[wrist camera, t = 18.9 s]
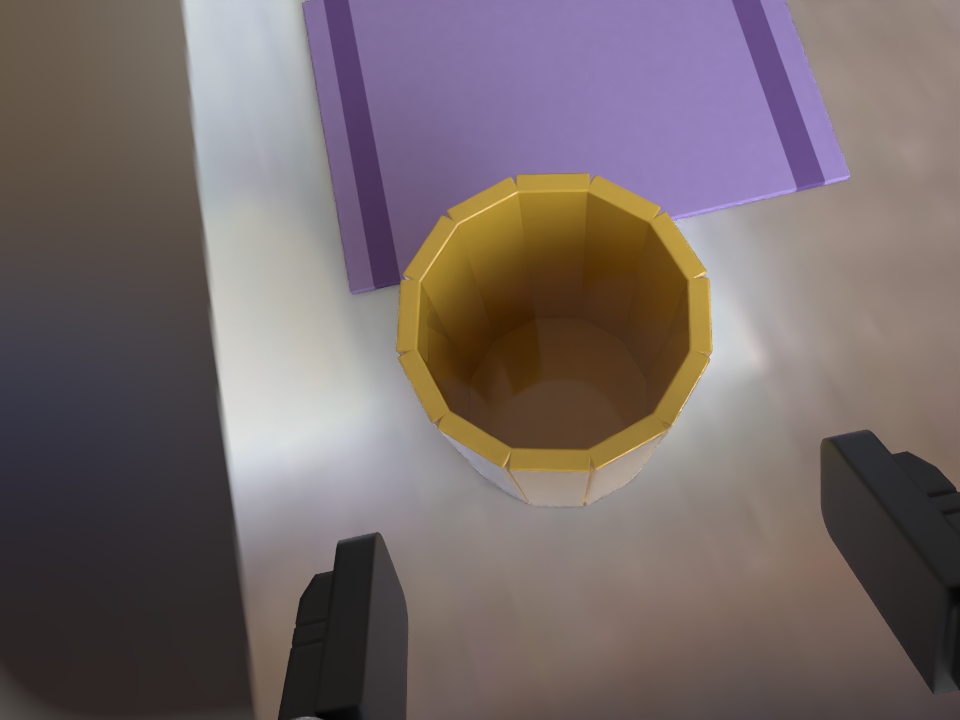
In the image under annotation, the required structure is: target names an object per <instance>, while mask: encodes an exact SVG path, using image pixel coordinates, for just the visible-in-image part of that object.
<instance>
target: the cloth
mask: <svg viewBox="0 0 960 720" xmlns="http://www.w3.org/2000/svg"><path fill="white" fill-rule="evenodd" d="M302 5H303V11H304V17H305V23H306V29H307V35H308V41H309V47H310V53H311V59H312V65H313V71H314V77H315V83H316V89H317V95H318V101H319V107H320V113H321V119H322V125H323V131H324V136H325V142H326V148H327V154H328V160H329V166H330V172H331V178H332V184H333V190H334V196H335V202H336V208H337V214H338V220H339V226H340V232H341V238H342V244H343V250H344V256H345V262H346V268H347V274H348V280H349V286H350V291H351V293H352V294H357V293H361V292H366V291H370V290H374V289H379V288H383V287H387V286H391V285H396V284H400V282H401V280H403V279H405V277H404V275H403V273H404V271H405V270H406V268H407V267H408V265H409V263H410V262H411V260H412V259H413V257H414V256H415V254H416V253H417V251H418V250H419V248H420V247H421V245H422V244H423V242H424V241H425V239H426V238H427V236H428V235H429V233H430V232H431V230H432V229H433V227H434V226H435V224H436V223H437V221H438V220H439V218H440V217H441V216H442V215H445V216H446V217H448V214H447V210H448V209H450V208H452V207H454V206H455V205H457V204H459V203H461V202H463V201H465V200H467V199H468V198H470V197H472V196H474V195H476V194H478V193H480V192H481V191H483V190H485V189H487V188H489V187H491V186H493V185H494V184H496V183H498V182H500V181H502V180H504V179H506V178H507V177H511V178H512V179H513V180H514V182H515V181H516V175H518V174H555V173H589V174H590V181H591V180H592V178H593V177H594V176H595V175H598V176H600V177H602V178H604V179H606V180H608V181H610V182H612V183H614V184H617V185H619V186H621V187H623V188H625V189H627V190H629V191H631V192H633V193H635V194H637V195H639V196H641V197H643V198H645V199H647V200H649V201H651V202H653V203H655V204H657V205H659V206H660V207H661V210H660V214H661V213H663V212H665V211H666V212H667V213H668V214H669V216H670V217H671V219H672V220H675V219H680V218H684V217H688V216H693V215H697V214H701V213H706V212H710V211H714V210H718V209H723V208H727V207H731V206H736V205H740V204H744V203H749V202H753V201H757V200H762V199H766V198H770V197H774V196H779V195H783V194H787V193H792V192H796V191H800V190H805V189H809V188H813V187H817V186H822V185H826V184H830V183H835V182H839V181H843V180H847V179H848V178H849V177H850V174H849V171H848V168H847V166H846V163H845V160H844V157H843V155H842V152H841V149H840V147H839V144H838V141H837V139H836V136H835V133H834V130H833V128H832V125H831V122H830V120H829V117H828V114H827V112H826V109H825V106H824V103H823V101H822V98H821V95H820V93H819V90H818V87H817V84H816V82H815V79H814V76H813V74H812V71H811V68H810V66H809V63H808V60H807V57H806V55H805V52H804V49H803V47H802V44H801V41H800V39H799V36H798V33H797V30H796V28H795V25H794V22H793V20H792V17H791V14H790V11H789V9H788V6H787V3H786V1H785V0H310V1H306V2H303V3H302ZM448 218H449V217H448Z"/></svg>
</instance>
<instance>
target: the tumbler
mask: <svg viewBox="0 0 960 720" xmlns="http://www.w3.org/2000/svg"><path fill="white" fill-rule="evenodd" d="M660 210H661V207H660V206H659V205H657V204H655V203H653V202H651V201H649V200H647V199H645V198H643V197H641V196H639V195H637V194H635V193H633V192H631V191H629V190H627V189H625V188H623V187H621V186H619V185H617V184H614V183H612V182H610V181H608V180H606V179H604V178H602V177H600V176H598V175H595V176H594V177H593V178H592V180H591V181H590V174H589V173H555V174H518V175H516V181H515V182H514V180H513V179H512V178H511V177H507V178H506V179H504V180H502V181H500V182H498V183H496V184H494V185H493V186H491V187H489V188H487V189H485V190H483V191H481V192H480V193H478V194H476V195H474V196H472V197H470V198H468V199H467V200H465V201H463V202H461V203H459V204H457V205H455V206H454V207H452V208H450V209H448V210H447V214H448V217H449V218H448V217H446V216H445V215H442V216H441V217H440V218H439V220H438V221H437V223H436V224H435V226H434V227H433V229H432V230H431V232H430V233H429V235H428V236H427V238H426V239H425V241H424V242H423V244H422V245H421V247H420V248H419V250H418V251H417V253H416V254H415V256H414V257H413V259H412V260H411V262H410V263H409V265H408V267H407V268H406V270H405V271H404V273H403V275H404V277H405V279H403V280H401V282H400V294H399V310H398V326H397V342H396V351H397V352H398V354H399V355H400V356H399V357H398V360H399V362H400V364H401V366H402V368H403V370H404V372H405V374H406V375H407V377H408V379H409V381H410V383H411V385H412V387H413V389H414V391H415V393H416V395H417V397H418V398H419V400H420V402H421V404H422V406H423V408H424V410H425V412H426V414H427V416H428V418H429V419H430V421H431V422H432V423H433V425H434V426H435V427H436V428H437V429H438V430H439V431H440V432H441V433H442V434H443V435H444V436H445V437H446V438H447V439H448V440H449V441H450V442H451V444H452V445H453V446H454V447H455V448H456V449H457V450H458V451H459V452H460V453H461V454H462V455H463V456H464V457H465V458H466V459H467V460H468V461H469V462H470V463H471V464H472V465H473V467H474V468H475V469H476V470H477V471H478V472H479V473H480V474H481V475H482V476H483V477H484V478H485V479H486V480H488V481H489V482H491V483H493V484H494V485H496V486H498V487H499V488H501V489H502V490H504V491H506V492H507V493H509V494H510V495H512V496H514V497H515V498H517V499H519V500H520V501H522V502H523V503H525V504H528V503H529V502H530V504H531V506H550V507H582V506H583V504H585V505H586V506H588V505H590V504H592V503H593V502H595V501H597V500H599V499H601V498H602V497H604V496H606V495H608V494H610V493H611V492H613V491H615V490H617V489H619V488H620V487H622V486H624V485H626V484H628V483H630V481H631V480H632V479H633V478H635V477H636V475H637V474H638V472H639V471H640V470H641V468H642V467H643V466H644V464H645V463H646V461H647V460H648V459H649V457H650V456H651V455H652V453H653V452H654V451H655V449H656V448H657V446H658V445H659V444H660V442H661V441H662V440H663V438H664V437H665V436H666V434H667V433H668V431H669V430H670V429H671V427H672V426H673V424H674V423H675V421H676V419H677V418H678V416H679V414H680V412H681V411H682V409H683V407H684V405H685V404H686V402H687V400H688V398H689V397H690V395H691V393H692V391H693V390H694V388H695V386H696V384H697V383H698V381H699V379H700V377H701V376H702V374H703V372H704V370H705V369H706V367H707V365H708V364H709V362H710V358H709V356H710V354H711V353H712V329H711V305H710V281H709V278H704V277H705V275H706V269H705V268H704V266H703V265H702V263H701V262H700V260H699V259H698V257H697V256H696V254H695V253H694V251H693V250H692V249H691V247H690V246H689V244H688V243H687V241H686V240H685V238H684V237H683V235H682V234H681V232H680V231H679V229H678V228H677V226H676V225H675V223H674V222H673V220H672V219H671V217H670V216H669V214H668V213H667V212H666V211H665V212H663V213H661V214H660Z"/></svg>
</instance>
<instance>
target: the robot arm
mask: <svg viewBox="0 0 960 720" xmlns="http://www.w3.org/2000/svg"><path fill="white" fill-rule="evenodd" d="M821 509H822V515H823V519H824V522H825V525H826V528H827V530H828V533H829V535H830V537H831V538H832V540H833V542H834V543H835V545H836V546H837V548H838V549H839V551H840V552H841V554H842V555H843V557H844V559H845V560H846V562H847V563H848V565H849V566H850V568H851V569H852V571H853V572H854V574H855V575H856V577H857V578H858V580H859V581H860V583H861V584H862V586H863V587H864V589H865V591H866V592H867V594H868V595H869V597H870V598H871V600H872V601H873V603H874V604H875V606H876V607H877V609H878V610H879V612H880V613H881V615H882V616H883V618H884V619H885V621H886V623H887V624H888V626H889V627H890V629H891V630H892V632H893V633H894V635H895V636H896V638H897V639H898V641H899V642H900V644H901V645H902V647H903V648H904V650H905V652H906V653H907V655H908V656H909V658H910V659H911V661H912V662H913V664H914V665H915V667H916V668H917V670H918V671H919V673H920V674H921V676H922V677H923V679H924V680H925V682H926V684H927V685H928V687H929V688H930V690H931V691H932V693H933V694H939V693H944V692H949V691H955V690H960V492H957V491H956V488H955V486H954V485H953V484H952V483H951V482H950V481H949V480H948V479H947V478H946V477H945V476H944V475H943V474H942V473H941V471H940V470H939V469H938V468H937V467H935V466H934V465H932V464H930V463H928V462H926V461H924V460H922V459H921V458H919V457H917V456H915V455H913V454H911V453H909V452H908V451H907V452H902V453H897V454H891V453H890V452H889V451H888V450H887V448H886V447H885V446H884V445H883V444H882V443H881V442H880V440H879V439H878V438H877V437H876V436H875V435H874V434H873V433H872V432H871V431H869V430H862V431H857V432H852V433H847V434H843V435H838V436H833V437H829V438H825V439H823V440H822V443H821ZM407 658H408V614H407V607H406V602H405V597H404V593H403V590H402V587H401V585H400V582H399V579H398V577H397V574H396V571H395V569H394V566H393V563H392V561H391V558H390V555H389V553H388V550H387V547H386V545H385V542H384V540H383V537H382V535H381V534H380V533H379V532H376V533H371V534H366V535H362V536H357V537H352V538H347V539H343V540H339V541H338V544H337V548H336V555H335V562H334V569H333V571H330V572H325V573H320V574H316V575H315V576H314V577H313V579H312V580H311V582H310V584H309V585H308V587H307V588H306V590H305V591H304V593H303V595H302V596H301V598H300V601H299V607H298V612H297V618H296V628H295V629H294V634H293V639H292V648H291V650H290V656H289V661H288V667H287V672H286V678H285V683H284V688H283V694H282V699H281V705H280V710H279V716H278V720H406V700H407Z"/></svg>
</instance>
